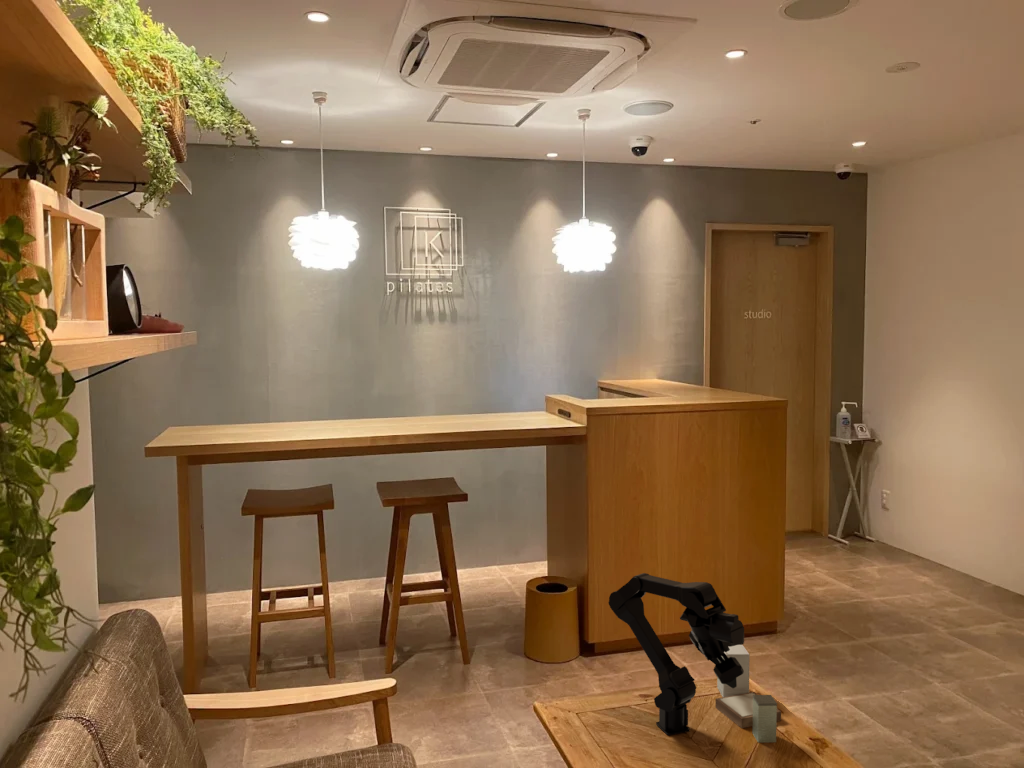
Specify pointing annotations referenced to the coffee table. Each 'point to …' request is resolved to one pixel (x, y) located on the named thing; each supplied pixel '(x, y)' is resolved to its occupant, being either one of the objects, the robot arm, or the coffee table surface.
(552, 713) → the coffee table surface
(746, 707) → the brown framed square mirror
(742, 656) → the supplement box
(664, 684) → the robot arm
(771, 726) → the olive grey square block
